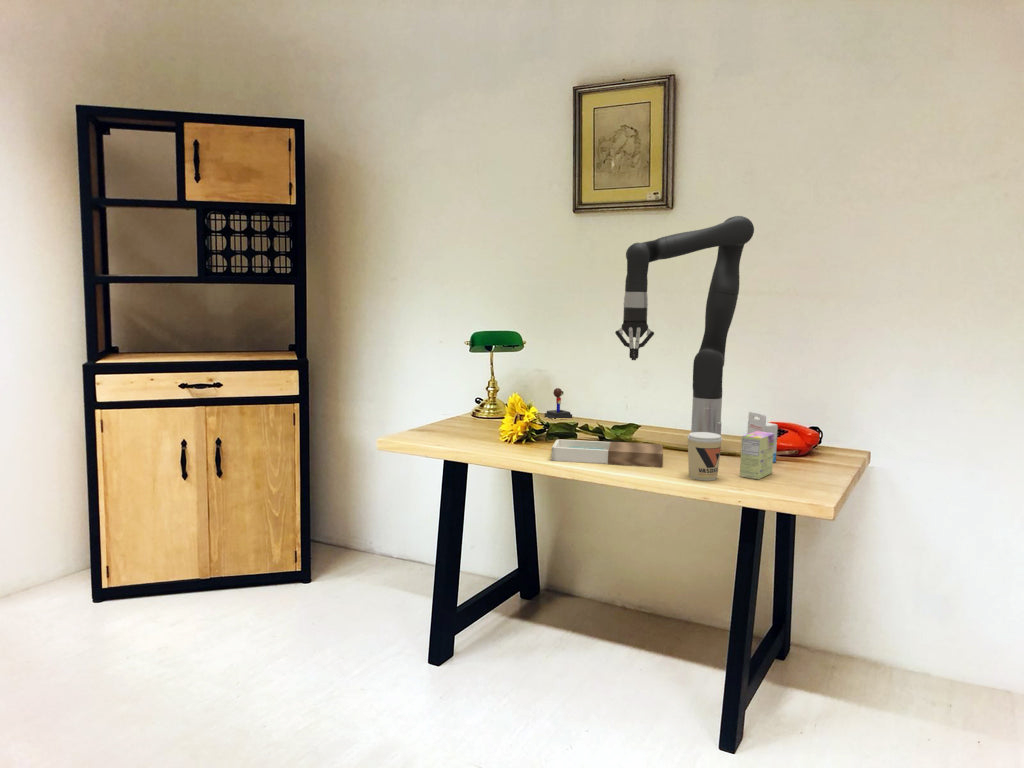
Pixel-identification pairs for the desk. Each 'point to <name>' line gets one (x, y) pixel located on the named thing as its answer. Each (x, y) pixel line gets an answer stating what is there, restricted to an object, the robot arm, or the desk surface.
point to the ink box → (762, 428)
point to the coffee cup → (704, 455)
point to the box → (756, 454)
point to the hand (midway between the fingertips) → (633, 359)
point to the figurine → (558, 407)
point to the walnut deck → (635, 454)
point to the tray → (580, 451)
